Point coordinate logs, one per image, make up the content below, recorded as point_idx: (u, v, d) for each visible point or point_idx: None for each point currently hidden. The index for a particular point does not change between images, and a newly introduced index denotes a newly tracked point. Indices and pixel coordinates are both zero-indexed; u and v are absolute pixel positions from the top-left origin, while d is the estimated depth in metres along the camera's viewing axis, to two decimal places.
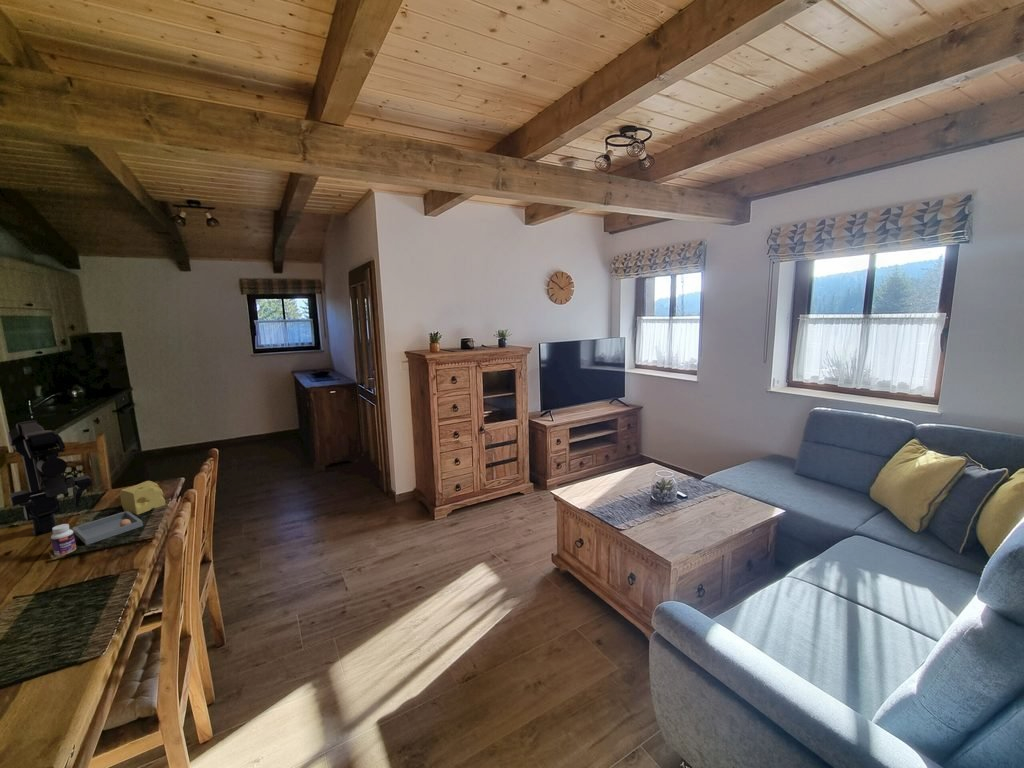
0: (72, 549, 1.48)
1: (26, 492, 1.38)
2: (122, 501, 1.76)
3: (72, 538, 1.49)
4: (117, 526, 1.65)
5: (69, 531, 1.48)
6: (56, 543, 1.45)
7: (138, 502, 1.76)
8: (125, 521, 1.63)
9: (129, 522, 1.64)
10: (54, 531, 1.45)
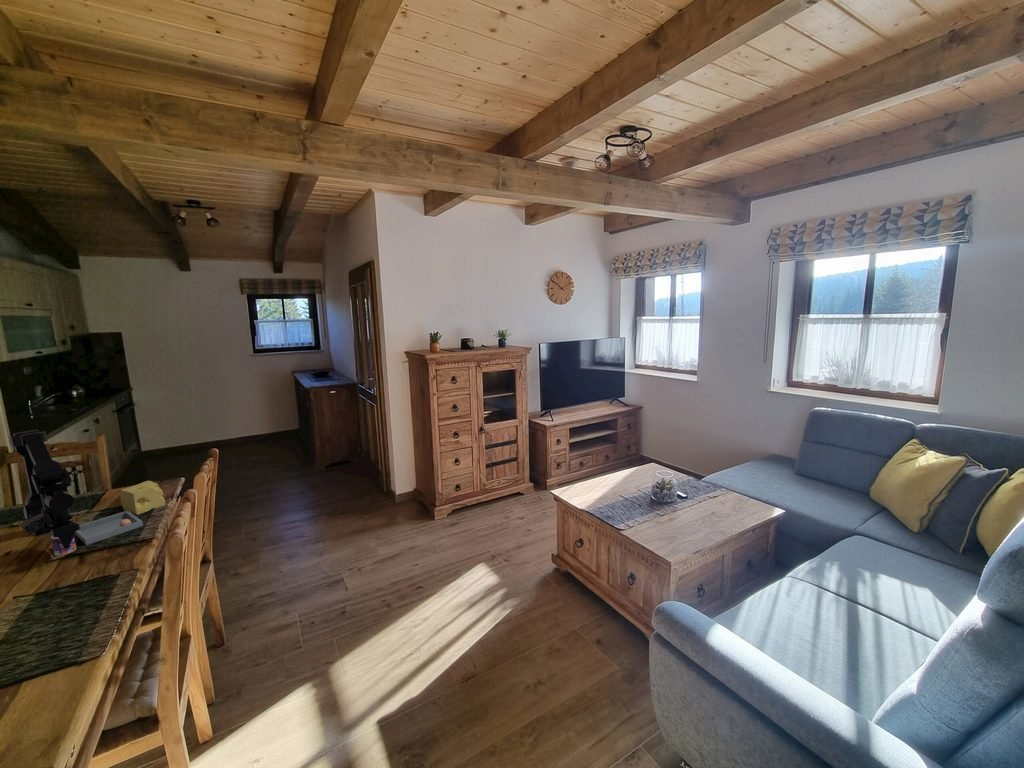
0: (72, 549, 1.48)
1: None
2: (122, 501, 1.76)
3: None
4: (117, 526, 1.65)
5: None
6: (56, 543, 1.45)
7: (138, 502, 1.76)
8: (125, 521, 1.63)
9: (129, 522, 1.64)
10: None
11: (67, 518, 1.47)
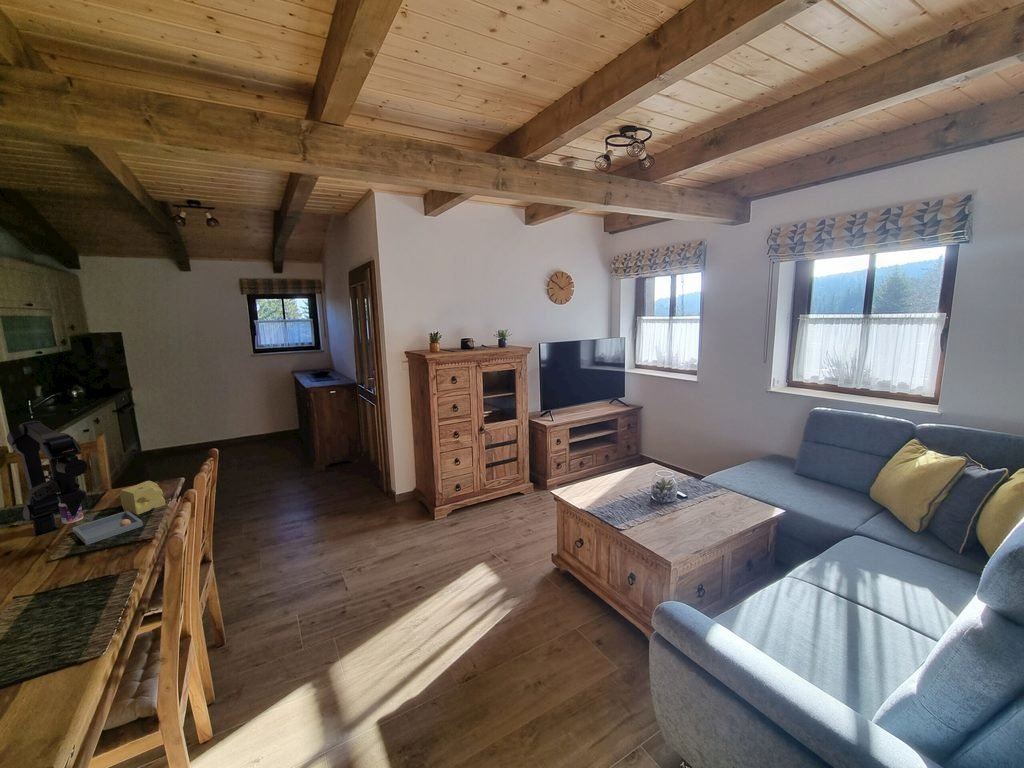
0: (79, 517, 1.51)
1: None
2: (122, 501, 1.76)
3: None
4: (117, 526, 1.65)
5: None
6: (63, 511, 1.48)
7: (138, 502, 1.76)
8: (125, 521, 1.63)
9: (129, 522, 1.64)
10: None
11: (74, 486, 1.49)
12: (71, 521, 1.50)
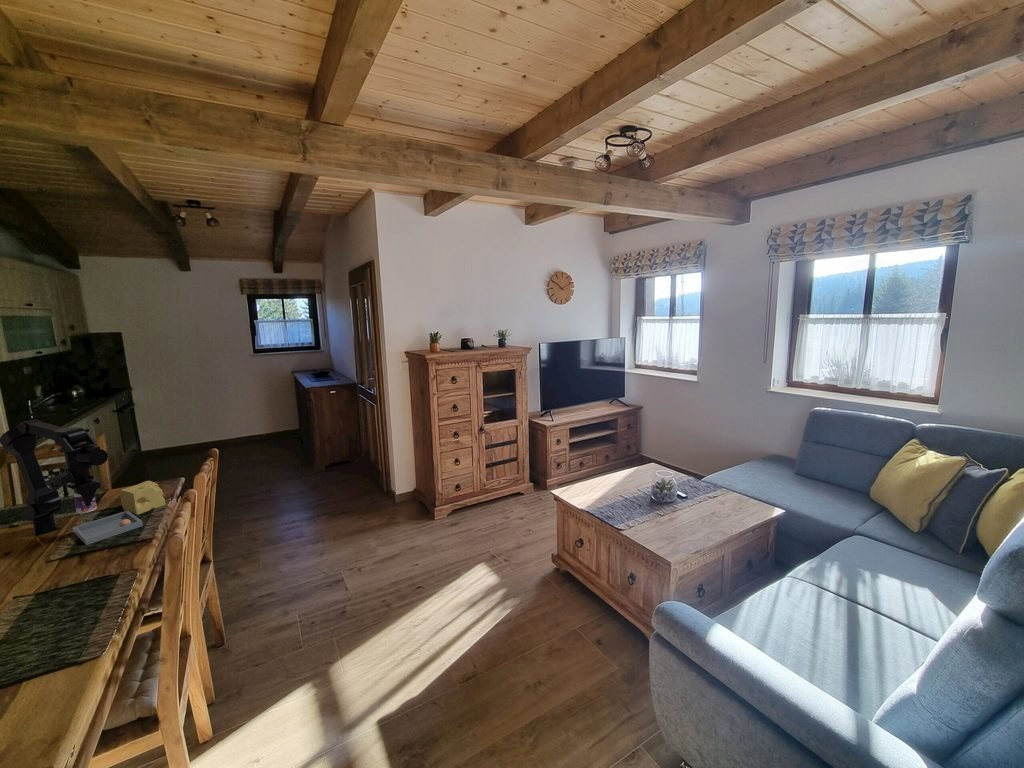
0: (93, 507, 1.58)
1: None
2: (122, 501, 1.76)
3: (93, 497, 1.58)
4: (117, 526, 1.65)
5: None
6: (78, 501, 1.55)
7: (138, 502, 1.76)
8: (125, 521, 1.63)
9: (129, 522, 1.64)
10: None
11: (88, 477, 1.56)
12: (86, 511, 1.56)
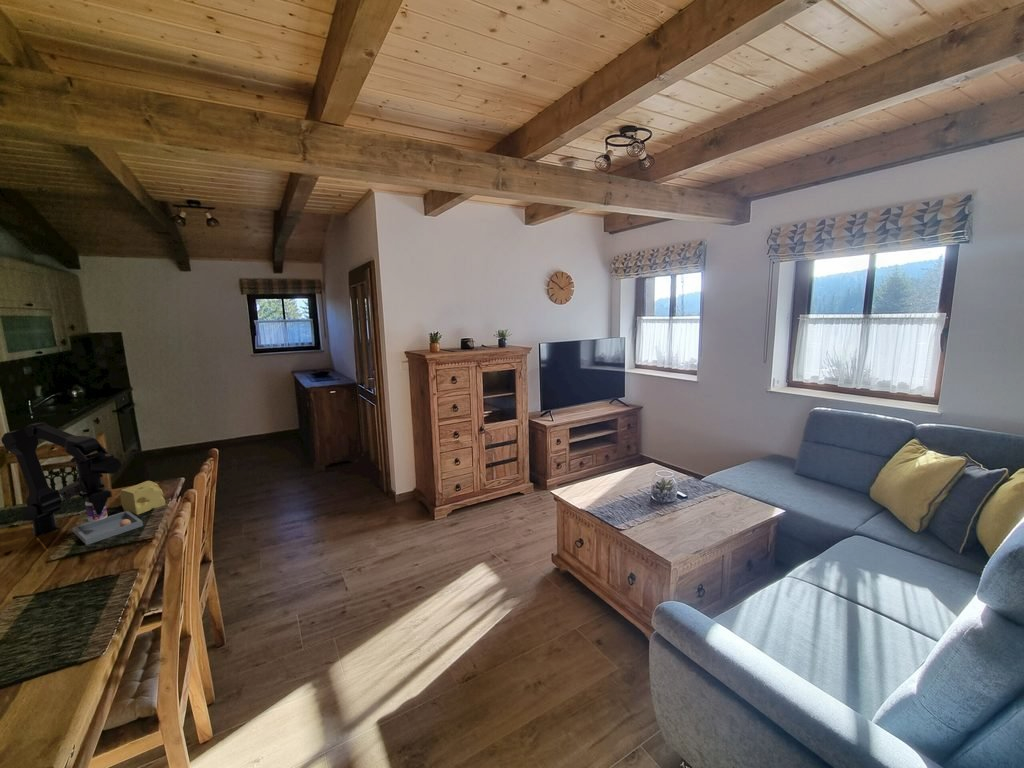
0: (104, 515, 1.61)
1: None
2: (122, 501, 1.76)
3: None
4: (117, 526, 1.65)
5: None
6: (90, 509, 1.58)
7: (138, 502, 1.76)
8: (125, 521, 1.63)
9: (129, 522, 1.64)
10: None
11: (100, 486, 1.59)
12: (97, 519, 1.59)
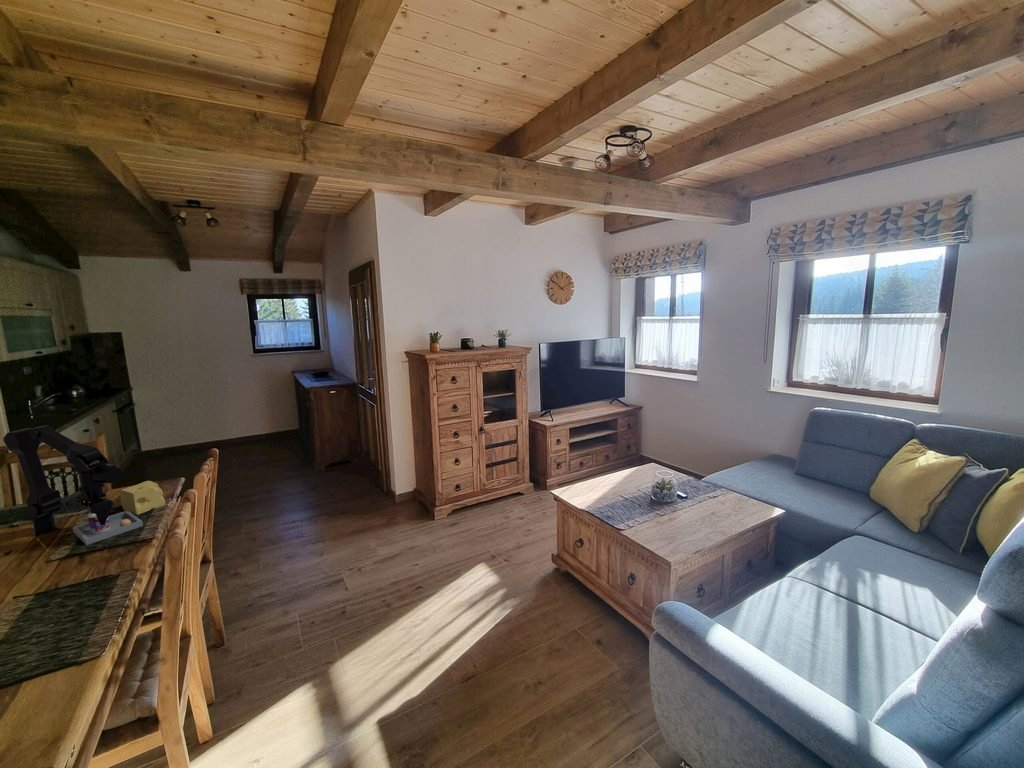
0: (106, 527, 1.62)
1: None
2: (122, 501, 1.76)
3: None
4: (117, 526, 1.65)
5: None
6: (92, 522, 1.59)
7: (138, 502, 1.76)
8: (125, 521, 1.63)
9: (129, 522, 1.64)
10: None
11: (102, 495, 1.60)
12: (99, 531, 1.60)
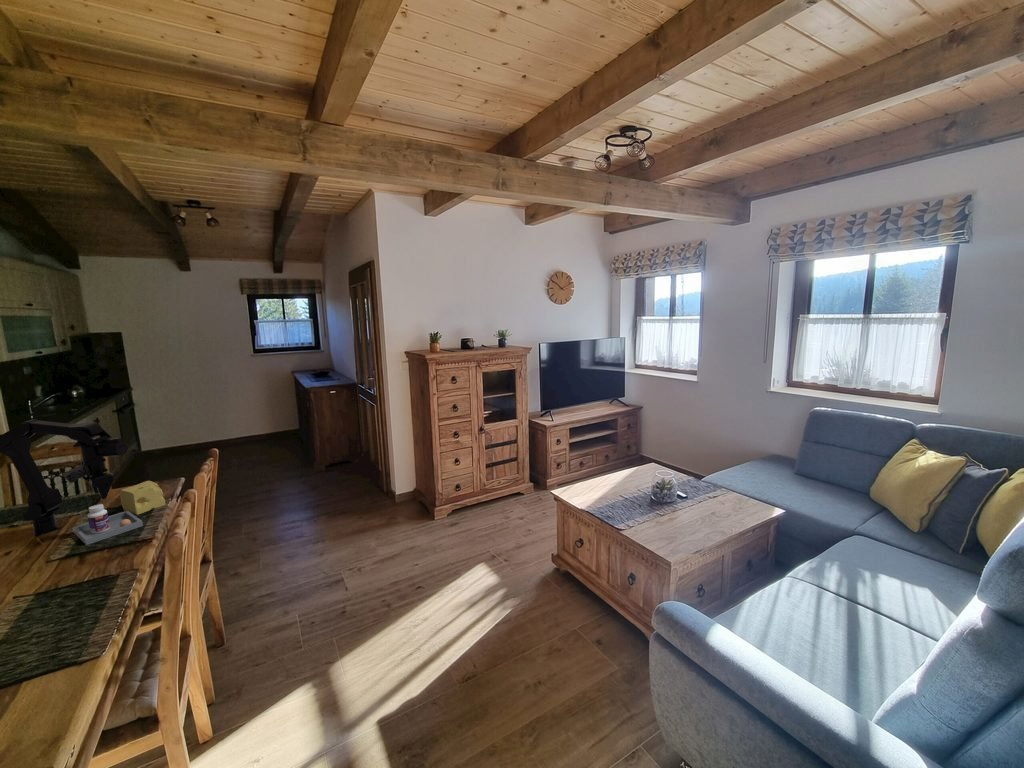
0: (106, 527, 1.62)
1: None
2: (122, 501, 1.76)
3: (106, 517, 1.62)
4: (117, 526, 1.65)
5: (104, 511, 1.61)
6: (92, 522, 1.59)
7: (138, 502, 1.76)
8: (125, 521, 1.63)
9: (129, 522, 1.64)
10: (90, 510, 1.59)
11: (103, 470, 1.63)
12: (99, 531, 1.60)
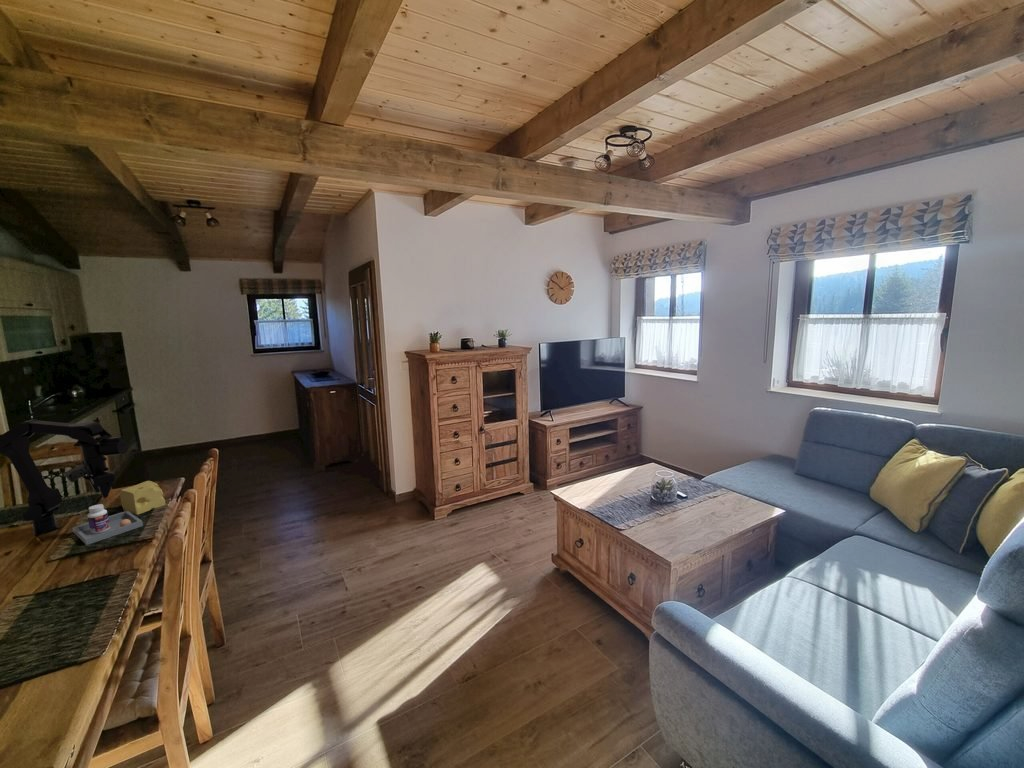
0: (106, 527, 1.62)
1: None
2: (122, 501, 1.76)
3: (106, 517, 1.62)
4: (117, 526, 1.65)
5: (104, 511, 1.61)
6: (92, 522, 1.59)
7: (138, 502, 1.76)
8: (125, 521, 1.63)
9: (129, 522, 1.64)
10: (90, 510, 1.59)
11: (104, 469, 1.63)
12: (99, 531, 1.60)
